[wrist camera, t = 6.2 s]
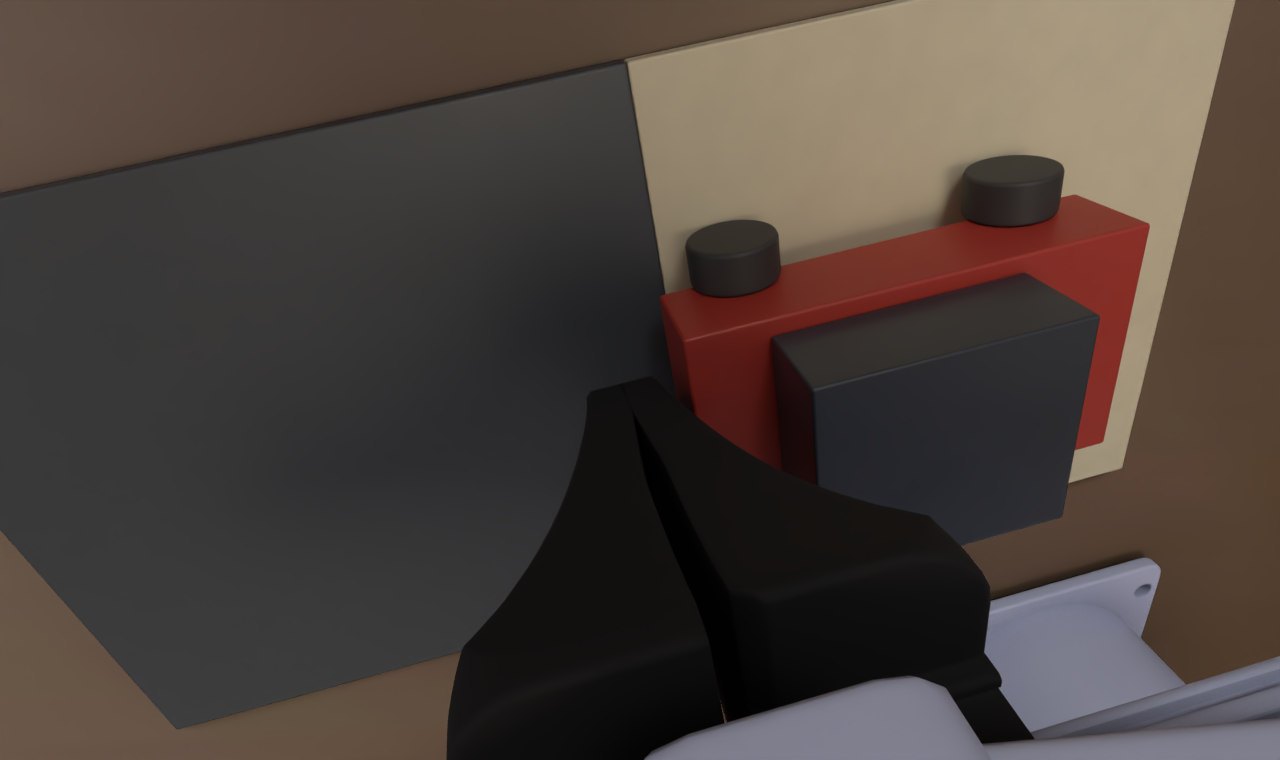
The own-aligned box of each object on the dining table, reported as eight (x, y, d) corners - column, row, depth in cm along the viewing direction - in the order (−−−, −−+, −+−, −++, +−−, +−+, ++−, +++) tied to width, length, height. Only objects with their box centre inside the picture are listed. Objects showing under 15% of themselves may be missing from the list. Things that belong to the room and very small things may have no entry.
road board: (1110, 459, 19) (1122, 468, 19) (182, 715, 17) (176, 730, 17) (1234, -74, 13) (1255, -74, 12) (-225, 242, 11) (-249, 251, 10)
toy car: (1019, 409, 17) (1165, 531, 13) (688, 497, 16) (748, 650, 13) (1055, 140, 13) (1262, 206, 10) (642, 239, 13) (704, 346, 9)
